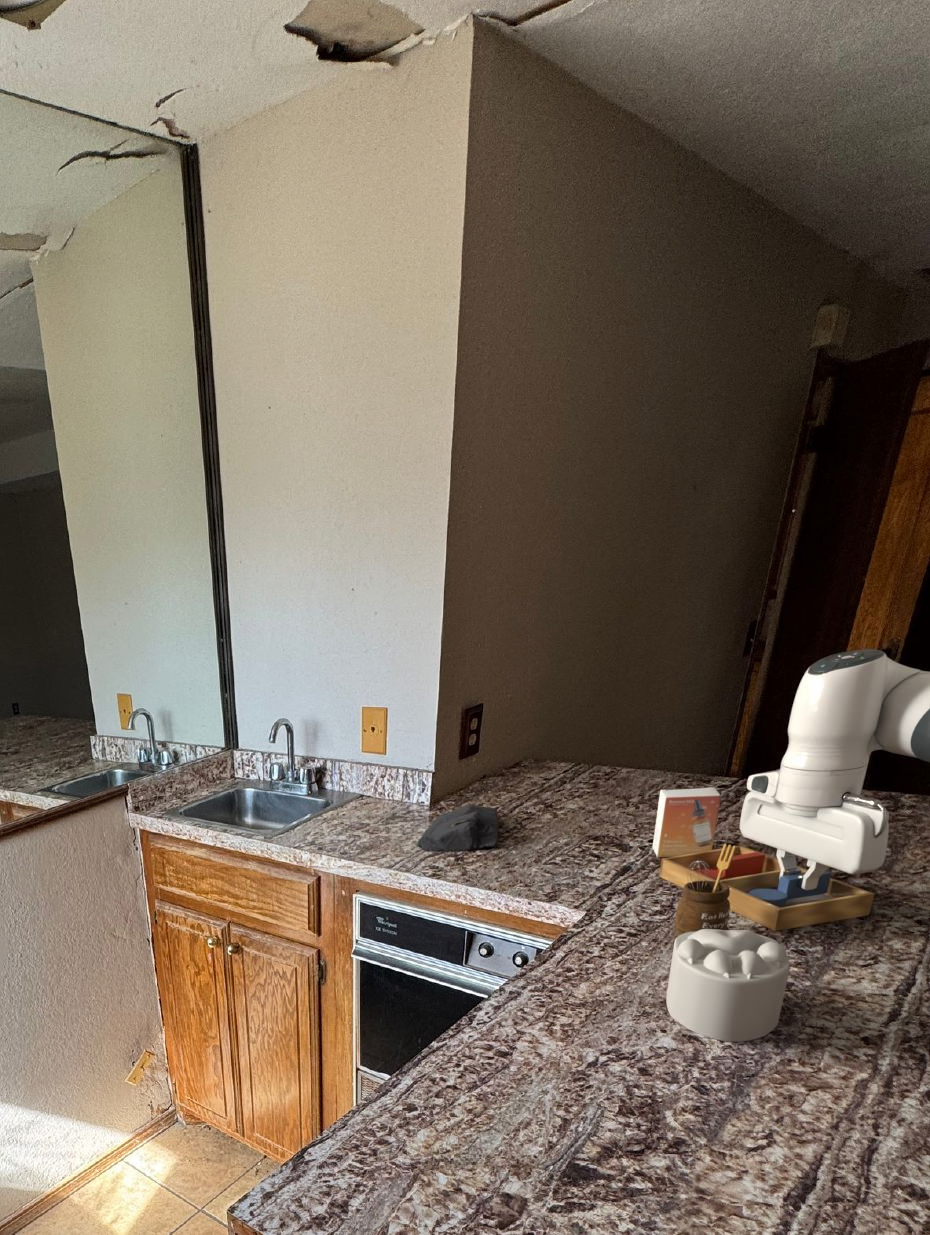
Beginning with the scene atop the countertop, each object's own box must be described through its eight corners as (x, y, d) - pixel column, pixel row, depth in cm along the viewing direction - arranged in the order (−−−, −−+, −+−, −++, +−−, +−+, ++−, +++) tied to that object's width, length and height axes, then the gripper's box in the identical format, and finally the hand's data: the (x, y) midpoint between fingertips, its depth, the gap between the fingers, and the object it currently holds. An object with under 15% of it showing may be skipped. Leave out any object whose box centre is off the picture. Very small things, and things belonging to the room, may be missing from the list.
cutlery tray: (737, 863, 125) (740, 845, 124) (869, 915, 104) (874, 893, 102) (658, 876, 125) (661, 858, 124) (774, 931, 104) (779, 909, 102)
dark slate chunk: (508, 818, 164) (509, 796, 162) (495, 851, 147) (496, 827, 145) (433, 819, 171) (433, 798, 169) (412, 851, 154) (412, 828, 152)
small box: (656, 858, 132) (664, 797, 128) (651, 848, 137) (659, 788, 132) (712, 857, 129) (722, 794, 125) (705, 847, 134) (715, 786, 129)
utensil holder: (662, 934, 107) (674, 851, 102) (696, 922, 109) (709, 839, 104) (703, 947, 102) (717, 861, 97) (737, 935, 104) (753, 849, 99)
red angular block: (747, 867, 122) (750, 849, 120) (769, 876, 118) (772, 857, 116) (683, 878, 121) (686, 859, 120) (703, 887, 117) (706, 868, 116)
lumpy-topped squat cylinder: (765, 989, 91) (780, 921, 88) (789, 1046, 81) (806, 972, 77) (662, 983, 96) (672, 918, 92) (672, 1036, 86) (683, 966, 82)
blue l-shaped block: (809, 886, 111) (813, 866, 109) (835, 896, 107) (840, 876, 105) (739, 898, 111) (743, 878, 109) (763, 908, 107) (767, 888, 105)
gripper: (916, 798, 93) (887, 906, 99) (781, 768, 111) (763, 860, 117) (865, 806, 93) (838, 914, 99) (738, 775, 111) (723, 867, 117)
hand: (797, 884), depth 108 cm, fingers closed on blue l-shaped block
